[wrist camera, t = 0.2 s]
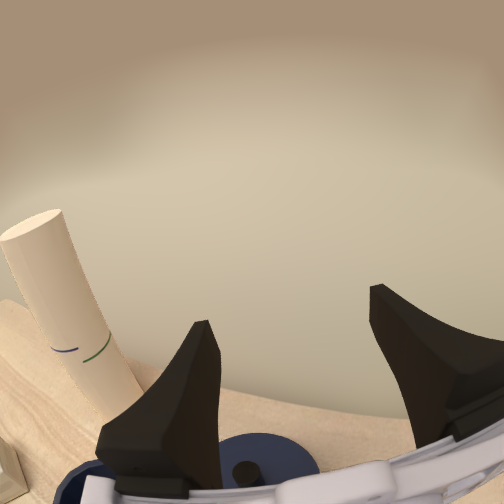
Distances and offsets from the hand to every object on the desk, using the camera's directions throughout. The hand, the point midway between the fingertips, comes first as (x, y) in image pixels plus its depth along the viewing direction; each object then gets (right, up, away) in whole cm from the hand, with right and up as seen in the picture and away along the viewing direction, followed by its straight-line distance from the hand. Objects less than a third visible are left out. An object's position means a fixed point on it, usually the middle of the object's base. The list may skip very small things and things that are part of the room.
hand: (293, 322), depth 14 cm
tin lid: (-2, -19, +10) cm, 21 cm away
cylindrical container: (-19, -17, +22) cm, 33 cm away
